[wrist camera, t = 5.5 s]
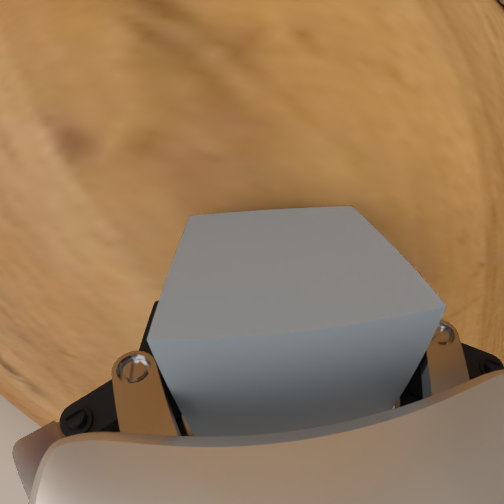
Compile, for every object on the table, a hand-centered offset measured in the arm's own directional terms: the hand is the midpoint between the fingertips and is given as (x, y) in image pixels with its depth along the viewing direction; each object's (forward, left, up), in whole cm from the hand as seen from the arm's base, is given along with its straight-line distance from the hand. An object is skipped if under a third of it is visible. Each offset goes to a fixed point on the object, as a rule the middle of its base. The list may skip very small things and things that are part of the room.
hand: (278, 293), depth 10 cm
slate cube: (0, 0, -1) cm, 1 cm away
